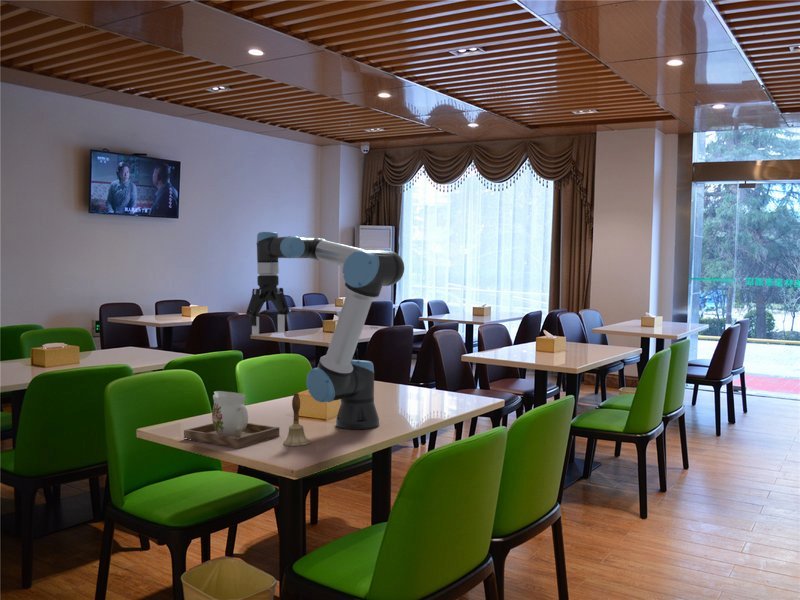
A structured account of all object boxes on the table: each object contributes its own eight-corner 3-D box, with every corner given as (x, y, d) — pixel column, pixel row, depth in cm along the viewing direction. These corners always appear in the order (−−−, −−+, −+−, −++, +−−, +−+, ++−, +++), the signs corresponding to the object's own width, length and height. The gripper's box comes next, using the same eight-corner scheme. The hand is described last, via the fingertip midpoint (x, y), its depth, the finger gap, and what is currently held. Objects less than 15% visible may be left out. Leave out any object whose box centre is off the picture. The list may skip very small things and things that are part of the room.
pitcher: (232, 443, 231) (231, 399, 230) (201, 434, 244) (201, 393, 243) (261, 437, 239) (260, 395, 238) (230, 429, 251) (229, 389, 251)
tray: (279, 436, 243) (279, 427, 243) (238, 448, 227) (237, 438, 227) (226, 428, 256) (226, 419, 256) (184, 439, 240) (183, 430, 240)
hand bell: (284, 440, 237) (283, 391, 237) (310, 440, 238) (309, 390, 237) (282, 446, 229) (281, 395, 228) (309, 446, 230) (308, 395, 229)
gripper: (283, 274, 279) (283, 330, 280) (235, 275, 258) (236, 335, 259) (298, 274, 275) (299, 331, 276) (251, 275, 254) (252, 336, 255)
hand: (268, 333), depth 267 cm, fingers open, 13 cm apart
